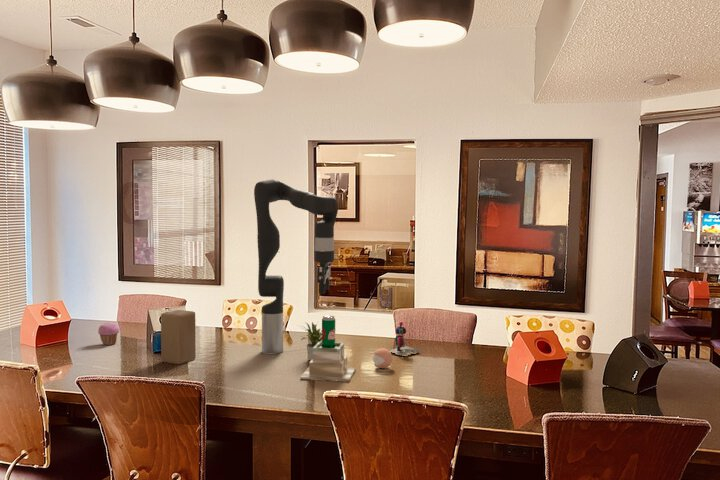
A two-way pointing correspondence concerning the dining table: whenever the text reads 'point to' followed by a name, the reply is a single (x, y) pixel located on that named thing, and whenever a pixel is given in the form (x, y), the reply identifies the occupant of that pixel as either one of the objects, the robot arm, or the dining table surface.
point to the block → (178, 336)
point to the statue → (402, 342)
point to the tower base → (328, 364)
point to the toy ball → (382, 358)
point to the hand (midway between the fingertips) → (324, 291)
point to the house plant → (312, 339)
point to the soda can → (328, 332)
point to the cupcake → (108, 333)
